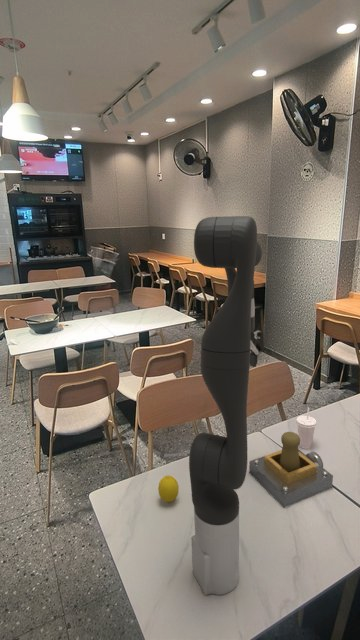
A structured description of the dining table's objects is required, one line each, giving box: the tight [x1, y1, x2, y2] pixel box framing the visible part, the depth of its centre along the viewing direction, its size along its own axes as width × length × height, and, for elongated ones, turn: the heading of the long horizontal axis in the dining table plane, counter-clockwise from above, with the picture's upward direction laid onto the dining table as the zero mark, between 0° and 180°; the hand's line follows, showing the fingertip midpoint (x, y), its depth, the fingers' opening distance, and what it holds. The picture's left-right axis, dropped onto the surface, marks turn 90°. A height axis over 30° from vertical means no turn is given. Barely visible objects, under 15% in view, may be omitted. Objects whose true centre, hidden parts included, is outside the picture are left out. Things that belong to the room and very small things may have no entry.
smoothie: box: [296, 407, 317, 450], centre depth 122 cm, size 6×6×14 cm
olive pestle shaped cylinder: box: [279, 431, 300, 473], centre depth 105 cm, size 6×6×11 cm
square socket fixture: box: [248, 448, 334, 509], centre depth 107 cm, size 19×16×6 cm
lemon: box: [157, 474, 179, 503], centre depth 100 cm, size 6×6×8 cm
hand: (240, 368), depth 105 cm, fingers open, 8 cm apart
